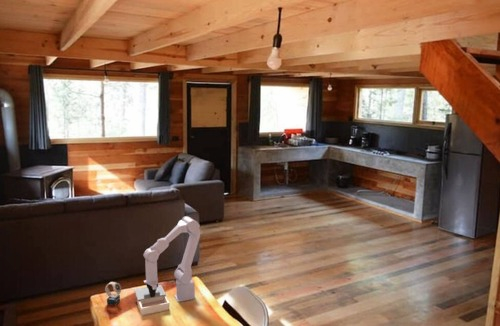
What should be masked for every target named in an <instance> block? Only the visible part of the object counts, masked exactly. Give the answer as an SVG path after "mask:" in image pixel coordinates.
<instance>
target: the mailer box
mask: <svg viewBox="0 0 500 326" xmlns="http://www.w3.org/2000/svg"><path fill="white" fill-rule="evenodd" d="M137 307H138V310H139V313H140V315H141V317H143V316H144V317H145V316H149V315H154V314H157V313H162V312H167V311H170V302H169V300H168V298H167V294H166V295H165V296H160V297H155V298H150V299H145V300H140V301H138V299H137Z"/></svg>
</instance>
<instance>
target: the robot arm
mask: <svg viewBox="0 0 500 326" xmlns="http://www.w3.org/2000/svg"><path fill="white" fill-rule="evenodd" d="M200 227H201V225H200V223H199V221H197V220H195V219H193V218H192V217H190V216H187V215H186V216H183V217H182V218H181V219H180V220H178V223H177V225H175V226H174V227H173V228H172V229H171V231H170V232H168V234H167V235H166V236H164V237H161V238H158V239H157V240H156V242H155V243H154V244H152V245H151V246H150V247H149V248H146V250H145V251H144V252H143V255H142V256H143V257H144V259H145V260H144V261H145V264H144V265H145V280H143V283H144V284H145V285H146V287H147V288H148V290H149V294H150V297H151V298H152V297H155V293H156V289H157V287H158V285H159V284H158V282H159V278H158V260H159V256H160V254H162V253H163V252H165V250H166V249H167V248H169V245H170V242H172V241H173V240H175V239H176V238H177V237H178V236H179V235H180V234H182V233H188V235H189V236H188V240H187V243H186V246H185V249H184V253H183V257H182V260H181V263H179V264H178V265H177V268H176V269H175V270H174V273H173V275H174V278H175V279H176V281H175V287H176V288H175V289H176V294H174V297H175V299H176V301H177V302H178V303H179V302H184V301H190V300H195V299H196V295H195V294H196V292H195V289H196V288H195V282H194V280H193V279H192V278H193V276H192V273H193V270H192V264H193V260H194V257H195V255H196V251H197V248H198V244H199V241H200V238H201V230H200Z"/></svg>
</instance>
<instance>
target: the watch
mask: <svg viewBox="0 0 500 326" xmlns="http://www.w3.org/2000/svg"><path fill="white" fill-rule="evenodd" d="M110 285H111V286H112V288H113V289H112V290H113V292H114V293H112V292H111V291H110V289H109V286H110ZM104 291H105V293H106V295H107V296H108V297H107V299H106V305H108V306H116V305H117V304H118V303H119V302H120V300H121V295H120V294H121V292H122V286H121V284H120V283H118V282H116V281H110V282H109V283H107V284H106V285H105V288H104Z"/></svg>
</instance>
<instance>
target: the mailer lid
mask: <svg viewBox="0 0 500 326" xmlns="http://www.w3.org/2000/svg"><path fill="white" fill-rule="evenodd" d="M133 291H134V294H135V296H136V298H137V299H138V301H140V300H145V299H150V298H151V297H150V294H149V290H148V288H147V286H145V287H140V288H136V289H135V288H134V289H133ZM165 295H166V296H167V294H166V292H165V290H164V288H163V286H162V284H158V287H157V289H156V293H155V297H160V296H165ZM155 297H152V298H155Z"/></svg>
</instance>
